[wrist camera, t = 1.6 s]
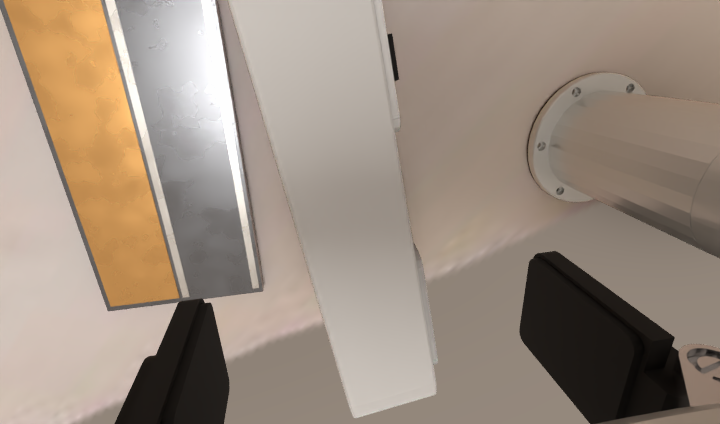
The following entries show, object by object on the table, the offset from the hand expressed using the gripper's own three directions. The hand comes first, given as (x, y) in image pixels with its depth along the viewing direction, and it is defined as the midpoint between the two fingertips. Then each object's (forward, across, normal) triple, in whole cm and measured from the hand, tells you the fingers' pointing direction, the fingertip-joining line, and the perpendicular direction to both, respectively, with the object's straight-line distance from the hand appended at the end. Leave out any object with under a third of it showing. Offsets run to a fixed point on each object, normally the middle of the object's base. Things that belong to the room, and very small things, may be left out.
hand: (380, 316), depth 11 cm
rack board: (+25, +14, +1) cm, 29 cm away
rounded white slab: (+26, 0, 0) cm, 26 cm away
